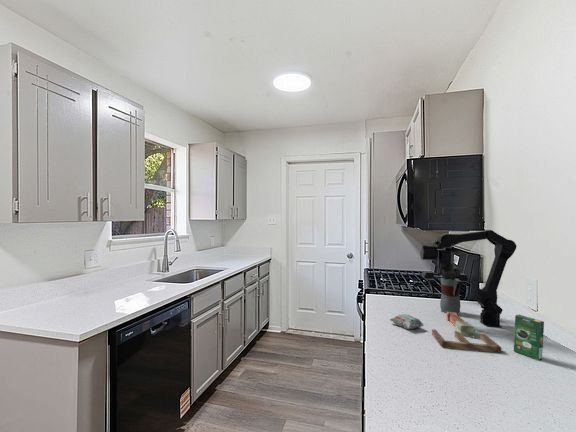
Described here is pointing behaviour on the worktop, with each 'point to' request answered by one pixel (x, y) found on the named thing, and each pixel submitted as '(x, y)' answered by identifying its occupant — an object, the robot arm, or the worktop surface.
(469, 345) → the lane rack
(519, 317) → the coffee box
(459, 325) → the block
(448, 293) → the bottle
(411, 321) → the packaged food
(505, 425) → the worktop surface
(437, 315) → the worktop surface
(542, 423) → the worktop surface
